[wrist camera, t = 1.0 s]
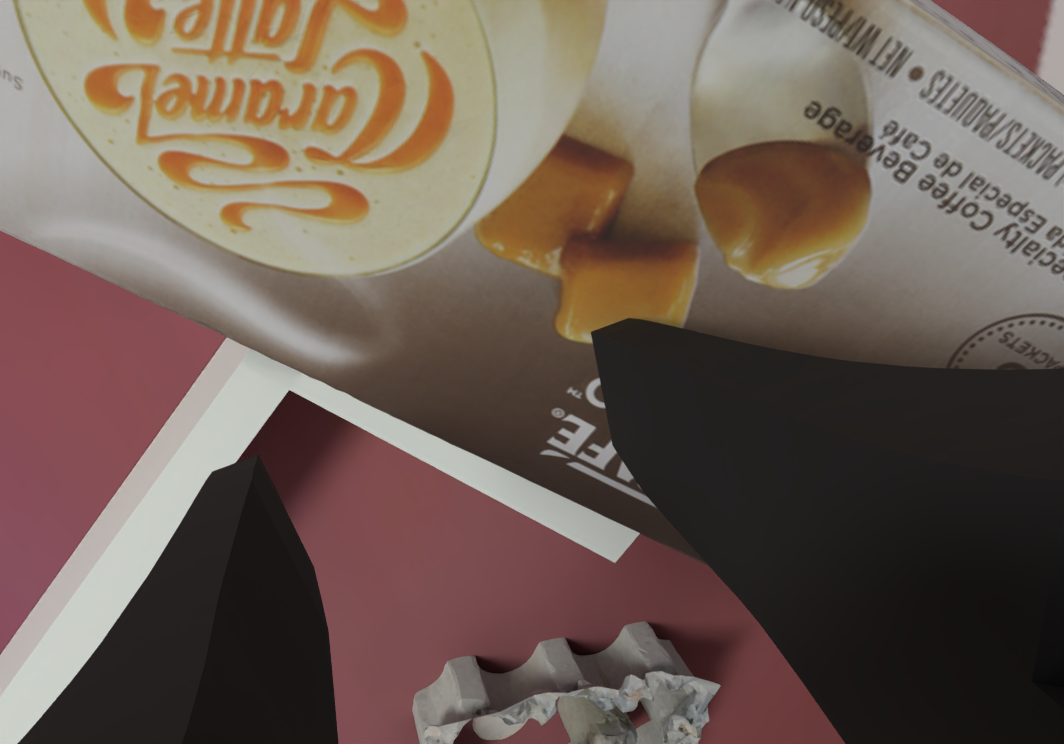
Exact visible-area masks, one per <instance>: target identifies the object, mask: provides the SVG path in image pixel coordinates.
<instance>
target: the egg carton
mask: <svg viewBox="0 0 1064 744" xmlns="http://www.w3.org/2000/svg"><path fill="white" fill-rule="evenodd" d="M720 686H721V685H719V684H717V683H714V682H710V681H707V680H703V679H700V678H696V677H694V675H693V674H692V673H691V672H690V670H689V669H688V667H687V666H686V664H685V663H684V661H683V660H682V658H681V657H680V655H679V654H678V653H677V652H676V650H675V648H674V646H673V645H672V643H671V641H670V640H662V639H658V638H657V637H656V635H655V633H654V631H653V629H652V628H651V627H650V626H649V624H648V623H647V622H646V621H643V622H638V623H633V624H628V625H625V626H624V627H623V629H622V631H621V633H620V635H619V636H618V638H617V639H616V640H615V641H614V643H613V644H611V645H610V646H609V647H608V648H607V649H605V650H603V651H601V652H599V653H597V654H593V655H585V656H581V655H576V654H574V653H573V652H571V649H570V647H569V645H568V643H567V641H566V639H565V638H563V637H562V638H556V639H551V640H546V641H542V642H540V643H539V644H538V646H537V648H536V649H535V651H534V653H533V655H532V656H531V658H529V660H528V661H527V662H526V663H524V664H523V665H522V666H521V667H519V668H517V669H514V670H512V671H510V672H506V673H503V674H495V673H489V672H486V671H484V670H482V669H481V668H480V667H479V666H478V664H477V661H476V658H475V655H474V656H464V657H459V658H455V659H451V660H449V661H447V663H446V665H445V668H444V671H443V673H442V674H441V676H440V677H439V678H438V679H437V680H436V681H435V682H434V683H433V684H431V685H430V686H428V687H426V688H424V689H422V690H420V691H418V692H417V693H416V694H415V696H414V703H413V708H412V711H413V715H414V718H415V724H416V728H417V733H418V737H419V741H420V744H453V742H454V740H455V739H456V737H457V736H458V735H459V733H460V731H461V729H462V728H463V726H464V725H465V724H466V723H467V722H468V721H470V720H471V719H473V718H474V719H473V724H472V725H473V730H474V732H476V734H477V735H478V736H479V737H480V738H482V739H485V740H500V739H504V738H507V737H509V736H511V735H512V734H514V733H515V732H517V731H518V730H520V729H521V728H522V727H523V726H524V725H525V723H526V722H527V720H528V719H530V718H533V719H535V720H538V721H539V722H540V724H541V725H543V724H545V723H546V722H547V721H548V720H549V719H550V718H551V717H552V716H553V715H554V714H555V713H556V712H557V708H558V711H559V714H560V717H561V719H562V722H563V724H564V726H565V728H566V731H567V733H568V735H569V738H570V740H571V742H569V743H567V744H698V741H699V740H701V732H702V728H703V726H704V725H705V724H706V723H707V722H708V721H709V715H708V703H709V702H710V700H711V699H712V697H713V696H714V695H715V694H716V692H717V691H718V689H719V688H720ZM558 697H560V698H559V700H558V707H557V698H558ZM639 701H640V702H641V703H642V705H643V707H644V709H645V710H646V712H647V714H648V715H649V717H650V719H651V721H649V722H647V723H645V724H643V725H641V726H640V727H638V728H637V729H635V727H634V725H633V723H632V721H631V720H630V718H629V716H628V714H627V713H626V712H629V711H633V710H635V709H636V708H637V705H638V702H639Z"/></svg>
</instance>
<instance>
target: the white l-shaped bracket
mask: <svg viewBox="0 0 1064 744" xmlns="http://www.w3.org/2000/svg"><path fill="white" fill-rule="evenodd" d="M289 390H290V391H292V392H294V393H296V394H298V395H300V396H302V397H304V398H306V399H307V400H309V401H311V402H313V403H315V404H317V405H319V406H321V407H322V408H324V409H326V410H328V411H330V412H332V413H334V414H336V415H338V416H339V417H341V418H343V419H345V420H347V421H349V422H351V423H353V424H354V425H356V426H358V427H360V428H362V429H364V430H366V431H368V432H370V433H371V434H373V435H375V436H377V437H379V438H381V439H383V440H385V441H386V442H388V443H390V444H392V445H394V446H396V447H398V448H400V449H402V450H403V451H405V452H407V453H409V454H411V455H413V456H415V457H417V458H418V459H420V460H422V461H424V462H426V463H428V464H430V465H432V466H434V467H435V468H437V469H439V470H441V471H443V472H445V473H447V474H449V475H450V476H452V477H454V478H456V479H458V480H460V481H462V482H464V483H466V484H467V485H469V486H471V487H473V488H475V489H477V490H479V491H481V492H482V493H484V494H486V495H488V496H490V497H492V498H494V499H496V500H498V501H499V502H501V503H503V504H505V505H507V506H509V507H511V508H513V509H514V510H516V511H518V512H520V513H522V514H524V515H526V516H528V517H530V518H531V519H533V520H535V521H537V522H539V523H541V524H543V525H545V526H546V527H548V528H550V529H552V530H554V531H556V532H558V533H560V534H562V535H563V536H565V537H567V538H569V539H571V540H573V541H575V542H577V543H578V544H580V545H582V546H584V547H586V548H588V549H590V550H592V551H594V552H595V553H597V554H599V555H601V556H603V557H605V558H607V559H609V560H610V561H612V562H614V563H615V562H616V561H617V560H618V559H619V558H620V556H621V555H622V554H623V553H624V552H625V551H626V549H627V548H628V547H629V546H630V545H631V543H632V542H633V541H634V540H635V539H636V538H637V536H638V535H639V534H640V533H638V532H636V531H634V530H632V529H630V528H628V527H626V526H623V525H621V524H619V523H617V522H615V521H613V520H610V519H608V518H606V517H604V516H602V515H600V514H598V513H596V512H594V511H592V510H590V509H588V508H586V507H583V506H581V505H579V504H577V503H575V502H573V501H571V500H568V499H566V498H564V497H562V496H560V495H558V494H556V493H554V492H552V491H550V490H547V489H545V488H543V487H541V486H539V485H537V484H535V483H532V482H530V481H528V480H526V479H524V478H522V477H520V476H518V475H516V474H514V473H512V472H510V471H508V470H506V469H504V468H502V467H499V466H497V465H495V464H493V463H491V462H489V461H487V460H484V459H482V458H480V457H478V456H476V455H474V454H472V453H469V452H467V451H465V450H463V449H460V448H458V447H456V446H454V445H451V444H449V443H447V442H446V441H444V440H442V439H440V438H438V437H435V436H433V435H431V434H429V433H427V432H424V431H422V430H420V429H418V428H416V427H414V426H411V425H409V424H407V423H405V422H403V421H401V420H399V419H397V418H394V417H392V416H390V415H389V414H387V413H384V412H382V411H380V410H378V409H376V408H373V407H371V406H369V405H367V404H365V403H363V402H361V401H359V400H357V399H355V398H353V397H352V396H350V395H348V394H347V393H344V392H341V391H339V390H336V389H334V388H332V387H330V386H329V385H327V384H325V383H323V382H321V381H318V380H316V379H313V378H310V377H308V376H307V375H305V374H303V373H301V372H299V371H297V370H295V369H292V368H290V367H288V366H286V365H284V364H281V363H279V362H277V361H275V360H272V359H270V358H268V357H266V356H265V355H263V354H261V353H259V352H257V351H255V350H252V349H250V348H248V347H246V346H243V345H241V344H239V343H237V342H235V341H233V340H231V339H230V338H228V337H227V338H226V339H225V341H224V342H223V343H222V345H221V346H220V348H219V349H218V350H217V352H216V353H215V355H214V356H213V357H212V359H211V360H210V362H209V363H208V364H207V366H206V367H205V369H204V370H203V371H202V373H201V374H200V376H199V377H198V378H197V380H196V381H195V383H194V384H193V386H192V387H191V388H190V390H189V391H188V393H187V394H186V395H185V397H184V398H183V400H182V401H181V402H180V404H179V405H178V407H177V408H176V409H175V411H174V412H173V414H172V415H171V416H170V418H169V419H168V421H167V422H166V423H165V425H164V426H163V428H162V429H161V430H160V432H159V433H158V435H157V436H156V437H155V439H154V440H153V442H152V443H151V444H150V446H149V447H148V449H147V450H146V451H145V453H144V454H143V456H142V457H141V458H140V460H139V461H138V463H137V464H136V465H135V467H134V468H133V470H132V471H131V472H130V474H129V475H128V477H127V478H126V479H125V481H124V482H123V484H122V485H121V486H120V488H119V489H118V491H117V492H116V493H115V495H114V496H113V498H112V499H111V501H110V502H109V503H108V505H107V506H106V508H105V509H104V510H103V512H102V513H101V515H100V516H99V517H98V519H97V520H96V522H95V523H94V524H93V526H92V527H91V529H90V530H89V531H88V533H87V534H86V536H85V537H84V538H83V540H82V541H81V543H80V544H79V545H78V547H77V548H76V550H75V551H74V552H73V554H72V555H71V557H70V558H69V559H68V561H67V562H66V564H65V565H64V566H63V568H62V569H61V571H60V572H59V573H58V575H57V576H56V578H55V579H54V580H53V582H52V583H51V585H50V586H49V587H48V589H47V590H46V592H45V593H44V594H43V596H42V597H41V599H40V600H39V601H38V603H37V604H36V606H35V607H34V608H33V610H32V611H31V613H30V614H29V616H28V617H27V618H26V620H25V621H24V623H23V624H22V625H21V627H20V628H19V630H18V631H17V632H16V634H15V635H14V637H13V638H12V639H11V641H10V642H9V644H8V645H7V646H6V648H5V649H4V651H3V652H2V653H1V655H0V744H18V742H19V741H20V740H21V739H22V738H23V737H24V736H25V735H26V734H27V732H28V731H29V730H30V729H31V728H32V727H33V726H34V725H35V723H36V722H37V721H38V720H39V719H40V718H41V716H42V715H43V714H44V713H45V712H46V710H47V709H48V708H49V707H50V706H51V704H52V703H53V702H54V701H55V700H56V698H57V697H58V696H59V695H60V694H61V693H62V691H63V690H64V689H65V688H66V687H67V685H68V684H69V683H70V682H71V681H72V679H73V678H74V677H75V676H76V674H77V673H78V672H79V671H80V669H81V668H82V667H83V665H84V664H85V663H86V662H87V660H88V659H89V658H90V657H91V655H92V654H93V653H94V651H95V650H96V649H97V647H98V646H99V645H100V643H101V642H102V641H103V639H104V638H105V636H106V635H107V633H108V632H109V631H110V629H111V628H112V626H113V625H114V623H115V622H116V621H117V619H118V618H119V616H120V615H121V613H122V612H123V610H124V609H125V608H126V606H127V605H128V603H129V602H130V600H131V599H132V598H133V596H134V595H135V593H136V592H137V590H138V589H139V587H140V586H141V585H142V583H143V582H144V580H145V579H146V577H147V576H148V574H149V573H150V571H151V570H152V568H153V567H154V565H155V563H156V562H157V560H158V558H159V557H160V555H161V554H162V552H163V550H164V549H165V547H166V546H167V544H168V542H169V541H170V539H171V538H172V536H173V534H174V533H175V531H176V529H177V528H178V526H179V525H180V523H181V521H182V519H183V518H184V516H185V514H186V513H187V511H188V509H189V508H190V506H191V504H192V503H193V501H194V499H195V498H196V496H197V494H198V493H199V491H200V489H201V488H202V486H203V484H204V483H205V481H206V480H207V478H208V477H209V475H210V474H211V472H212V471H215V470H218V469H221V468H223V467H226V466H229V465H231V464H234V463H236V461H237V460H238V459H239V457H240V456H241V455H242V453H243V452H244V451H245V449H246V448H247V446H248V445H249V444H250V442H251V441H252V440H253V438H254V437H255V436H256V434H257V433H258V432H259V430H260V429H261V427H262V426H263V425H264V423H265V422H266V421H267V419H268V418H269V417H270V415H271V414H272V413H273V411H274V410H275V408H276V407H277V406H278V404H279V403H280V402H281V400H282V399H283V398H284V396H285V395H286V394H287V392H288V391H289Z"/></svg>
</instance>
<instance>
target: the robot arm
mask: <svg viewBox="0 0 1064 744" xmlns="http://www.w3.org/2000/svg"><path fill="white" fill-rule="evenodd" d="M591 337H592V342H593V347H594V352H595V357H596V363H597V368H598V373H599V378H600V383H601V388H602V394H603V399H604V404H605V409H606V414H607V419H608V425H609V430H610V435H611V440H612V445H613V447H614V449H615V450H616V452H617V453H618V455H619V456H620V458H621V459H622V461H623V462H624V464H625V465H626V467H627V469H628V470H629V472H630V473H631V475H632V476H633V477H634V479H635V480H636V482H637V483H638V485H639V486H640V488H641V489H642V490H643V492H644V493H645V495H646V496H647V497H648V498H649V499H650V501H651V502H652V503H653V504H654V505H655V506H656V507H657V509H658V510H659V511H660V512H661V513H662V514H663V515H664V516H665V518H666V519H667V520H668V521H669V522H670V523H671V524H672V525H673V527H674V528H675V529H676V530H677V531H678V532H679V533H680V534H681V535H682V536H683V538H684V539H685V540H686V541H687V542H688V543H689V544H690V545H691V546H692V547H693V549H694V550H695V551H696V552H697V553H698V554H699V555H700V556H701V557H702V558H703V560H704V561H705V562H706V563H707V564H708V565H709V566H710V567H711V568H712V569H713V571H714V572H715V573H716V574H717V575H718V576H719V577H720V578H721V579H722V580H723V582H724V583H725V584H726V585H727V586H728V587H729V588H730V589H731V590H732V592H733V593H734V594H735V595H736V596H737V597H738V598H739V599H740V600H741V602H742V603H743V604H744V605H745V606H746V608H747V609H748V610H749V611H750V612H751V614H752V615H753V616H754V617H755V618H756V620H757V621H758V622H759V623H760V625H761V626H762V627H763V629H764V630H765V631H766V633H767V634H768V635H769V637H770V638H771V640H772V641H773V642H774V644H775V645H776V646H777V648H778V649H779V650H780V652H781V653H782V655H783V656H784V657H785V659H786V660H787V661H788V663H789V664H790V666H791V667H792V668H793V670H794V671H795V672H796V674H797V675H798V676H799V678H800V679H801V681H802V682H803V683H804V685H805V686H806V688H807V689H808V691H809V692H810V693H811V695H812V696H813V698H814V699H815V701H816V702H817V703H818V705H819V706H820V708H821V709H822V711H823V712H824V713H825V715H826V716H827V718H828V719H829V721H830V722H831V724H832V725H833V726H834V728H835V729H836V731H837V732H838V734H839V735H840V736H841V738H842V739H843V741H844V742H845V744H1064V368H1059V369H1011V370H993V369H954V368H927V367H910V366H897V365H887V364H877V363H866V362H856V361H847V360H839V359H832V358H825V357H818V356H812V355H807V354H801V353H795V352H789V351H783V350H777V349H772V348H767V347H762V346H757V345H753V344H748V343H743V342H739V341H734V340H730V339H725V338H721V337H717V336H712V335H708V334H704V333H700V332H695V331H691V330H687V329H683V328H679V327H674V326H670V325H666V324H661V323H657V322H652V321H647V320H641V319H633V318H627V319H624V320H622V321H619V322H616V323H613V324H611V325H608V326H605V327H603V328H600V329H597V330H594V331H592V332H591ZM18 744H338V734H337V722H336V711H335V699H334V687H333V676H332V665H331V654H330V643H329V633H328V627H327V622H326V618H325V613H324V608H323V604H322V599H321V595H320V591H319V587H318V582H317V578H316V574H315V570H314V566H313V564H312V562H311V560H310V558H309V556H308V554H307V552H306V550H305V548H304V546H303V544H302V542H301V540H300V538H299V536H298V534H297V532H296V530H295V528H294V526H293V524H292V521H291V519H290V517H289V515H288V513H287V511H286V509H285V507H284V505H283V503H282V501H281V499H280V497H279V495H278V493H277V491H276V489H275V487H274V485H273V483H272V481H271V479H270V477H269V475H268V473H267V471H266V469H265V467H264V465H263V463H262V460H261V458H260V456H259V454H258V455H256V456H253V457H250V458H248V459H245V460H242V461H240V462H237V463H234V464H231V465H229V466H226V467H223V468H221V469H218V470H215V471H212V472H211V474H210V475H209V477H208V478H207V480H206V481H205V483H204V484H203V486H202V488H201V489H200V491H199V493H198V494H197V496H196V498H195V499H194V501H193V503H192V504H191V506H190V508H189V509H188V511H187V513H186V514H185V516H184V518H183V519H182V521H181V523H180V525H179V526H178V528H177V529H176V531H175V533H174V534H173V536H172V538H171V539H170V541H169V542H168V544H167V546H166V547H165V549H164V550H163V552H162V554H161V555H160V557H159V558H158V560H157V562H156V563H155V565H154V567H153V568H152V570H151V571H150V573H149V574H148V576H147V577H146V579H145V580H144V582H143V583H142V585H141V586H140V587H139V589H138V590H137V592H136V593H135V595H134V596H133V598H132V599H131V600H130V602H129V603H128V605H127V606H126V608H125V609H124V610H123V612H122V613H121V615H120V616H119V618H118V619H117V621H116V622H115V623H114V625H113V626H112V628H111V629H110V631H109V632H108V633H107V635H106V636H105V638H104V639H103V641H102V642H101V643H100V645H99V646H98V647H97V649H96V650H95V651H94V653H93V654H92V655H91V657H90V658H89V659H88V660H87V662H86V663H85V664H84V665H83V667H82V668H81V669H80V671H79V672H78V673H77V674H76V676H75V677H74V678H73V679H72V681H71V682H70V683H69V684H68V685H67V687H66V688H65V689H64V690H63V691H62V693H61V694H60V695H59V696H58V697H57V698H56V700H55V701H54V702H53V703H52V704H51V706H50V707H49V708H48V709H47V710H46V712H45V713H44V714H43V715H42V716H41V718H40V719H39V720H38V721H37V722H36V723H35V725H34V726H33V727H32V728H31V729H30V730H29V731H28V732H27V734H26V735H25V736H24V737H23V738H22V739H21V740H20V741H19V742H18Z"/></svg>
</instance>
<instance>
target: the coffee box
mask: <svg viewBox="0 0 1064 744" xmlns="http://www.w3.org/2000/svg"><path fill="white" fill-rule="evenodd" d="M0 230H1V231H3V232H5V233H7V234H9V235H11V236H13V237H15V238H18V239H20V240H22V241H24V242H26V243H28V244H31V245H33V246H35V247H37V248H39V249H41V250H44V251H46V252H48V253H50V254H52V255H55V256H57V257H59V258H61V259H63V260H65V261H67V262H69V263H71V264H73V265H75V266H78V267H80V268H82V269H84V270H86V271H88V272H90V273H92V274H94V275H96V276H98V277H100V278H102V279H104V280H106V281H108V282H111V283H113V284H115V285H117V286H119V287H121V288H124V289H126V290H128V291H130V292H132V293H134V294H136V295H138V296H140V297H142V298H144V299H146V300H149V301H151V302H153V303H155V304H157V305H159V306H161V307H163V308H166V309H168V310H170V311H173V312H175V313H177V314H179V315H181V316H183V317H185V318H187V319H189V320H191V321H193V322H195V323H197V324H199V325H201V326H203V327H206V328H209V329H211V330H214V331H216V332H218V333H220V334H222V335H224V336H226V337H228V338H230V339H231V340H233V341H235V342H237V343H239V344H241V345H243V346H246V347H248V348H250V349H252V350H255V351H257V352H259V353H261V354H263V355H265V356H266V357H268V358H270V359H272V360H275V361H277V362H279V363H281V364H284V365H286V366H288V367H290V368H292V369H295V370H297V371H299V372H301V373H303V374H305V375H307V376H308V377H310V378H313V379H316V380H318V381H321V382H323V383H325V384H327V385H329V386H330V387H332V388H334V389H336V390H339V391H341V392H344V393H347V394H348V395H350V396H352V397H353V398H355V399H357V400H359V401H361V402H363V403H365V404H367V405H369V406H371V407H373V408H376V409H378V410H380V411H382V412H384V413H387V414H389V415H390V416H392V417H394V418H397V419H399V420H401V421H403V422H405V423H407V424H409V425H411V426H414V427H416V428H418V429H420V430H422V431H424V432H427V433H429V434H431V435H433V436H435V437H438V438H440V439H442V440H444V441H446V442H447V443H449V444H451V445H454V446H456V447H458V448H460V449H463V450H465V451H467V452H469V453H472V454H474V455H476V456H478V457H480V458H482V459H484V460H487V461H489V462H491V463H493V464H495V465H497V466H499V467H502V468H504V469H506V470H508V471H510V472H512V473H514V474H516V475H518V476H520V477H522V478H524V479H526V480H528V481H530V482H532V483H535V484H537V485H539V486H541V487H543V488H545V489H547V490H550V491H552V492H554V493H556V494H558V495H560V496H562V497H564V498H566V499H568V500H571V501H573V502H575V503H577V504H579V505H581V506H583V507H586V508H588V509H590V510H592V511H594V512H596V513H598V514H600V515H602V516H604V517H606V518H608V519H610V520H613V521H615V522H617V523H619V524H621V525H623V526H626V527H628V528H630V529H632V530H634V531H636V532H638V533H640V534H642V535H644V536H647V537H649V538H651V539H653V540H655V541H657V542H659V543H661V544H664V545H666V546H668V547H670V548H672V549H674V550H676V551H679V552H681V553H683V554H685V555H687V556H689V557H691V558H693V559H695V560H698V561H700V562H702V563H704V564H706V565H708V564H707V563H706V562H705V561H704V560H703V558H702V557H701V556H700V555H699V554H698V553H697V552H696V551H695V550H694V549H693V547H692V546H691V545H690V544H689V543H688V542H687V541H686V540H685V539H684V538H683V536H682V535H681V534H680V533H679V532H678V531H677V530H676V529H675V528H674V527H673V525H672V524H671V523H670V522H669V521H668V520H667V519H666V518H665V516H664V515H663V514H662V513H661V512H660V511H659V510H658V509H657V507H656V506H655V505H654V504H653V503H652V502H651V501H650V499H649V498H648V497H647V496H646V495H645V493H644V492H643V490H642V489H641V488H640V486H639V485H638V483H637V482H636V480H635V479H634V477H633V476H632V475H631V473H630V472H629V470H628V469H627V467H626V465H625V464H624V462H623V461H622V459H621V458H620V456H619V455H618V453H617V452H616V450H615V449H614V447H613V445H612V440H611V435H610V430H609V425H608V419H607V414H606V409H605V404H604V399H603V394H602V388H601V383H600V378H599V373H598V368H597V363H596V357H595V352H594V347H593V342H592V337H591V332H592V331H594V330H597V329H600V328H603V327H605V326H608V325H611V324H613V323H616V322H619V321H622V320H624V319H627V318H633V319H641V320H647V321H652V322H657V323H661V324H666V325H670V326H674V327H679V328H683V329H687V330H691V331H695V332H700V333H704V334H708V335H712V336H717V337H721V338H725V339H730V340H734V341H739V342H743V343H748V344H753V345H757V346H762V347H767V348H772V349H777V350H783V351H789V352H795V353H801V354H807V355H812V356H818V357H825V358H832V359H839V360H847V361H856V362H866V363H877V364H887V365H897V366H910V367H927V368H954V369H993V370H1011V369H1059V368H1064V95H1063V94H1061V93H1060V92H1059V91H1057V90H1056V89H1055V88H1053V87H1052V86H1051V85H1049V84H1048V83H1047V82H1045V81H1044V80H1042V79H1041V78H1040V77H1038V76H1037V75H1035V74H1034V73H1033V72H1031V71H1030V70H1029V69H1027V68H1026V67H1024V66H1023V65H1022V64H1020V63H1019V62H1017V61H1016V60H1015V59H1013V58H1012V57H1010V56H1009V55H1008V54H1006V53H1005V52H1003V51H1002V50H1001V49H999V48H998V47H996V46H995V45H994V44H992V43H991V42H989V41H988V40H987V39H985V38H984V37H982V36H981V35H979V34H978V33H977V32H975V31H974V30H972V29H971V28H969V27H968V26H967V25H965V24H964V23H962V22H961V21H959V20H958V19H957V18H955V17H954V16H952V15H951V14H949V13H948V12H947V11H945V10H944V9H942V8H941V7H939V6H938V5H936V4H935V3H934V2H932V1H931V0H0ZM708 566H709V565H708Z"/></svg>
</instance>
